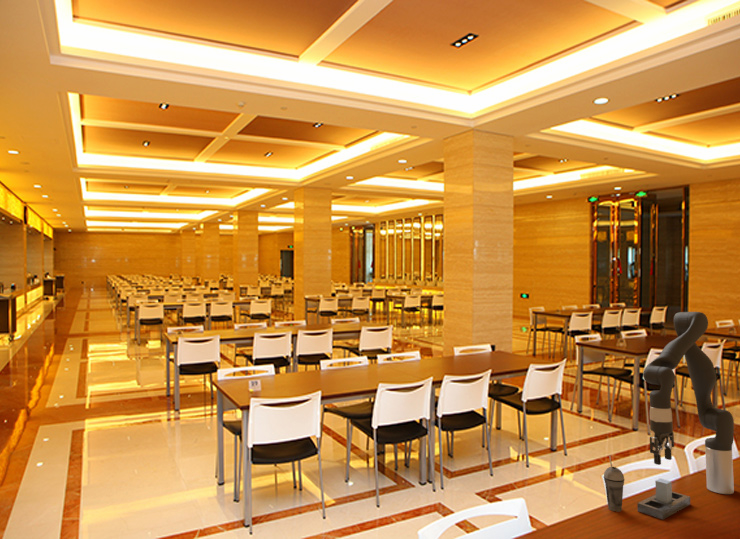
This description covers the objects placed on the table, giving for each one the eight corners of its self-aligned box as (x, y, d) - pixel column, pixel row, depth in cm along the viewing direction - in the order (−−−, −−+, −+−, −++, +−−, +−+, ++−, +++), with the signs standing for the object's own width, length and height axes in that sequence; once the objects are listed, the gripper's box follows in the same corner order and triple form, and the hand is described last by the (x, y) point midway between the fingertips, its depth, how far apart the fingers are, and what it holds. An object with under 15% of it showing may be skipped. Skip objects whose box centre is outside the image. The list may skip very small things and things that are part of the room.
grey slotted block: (665, 497, 203) (665, 489, 203) (690, 504, 195) (690, 496, 195) (637, 511, 190) (637, 503, 190) (662, 519, 183) (662, 511, 183)
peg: (661, 504, 196) (660, 478, 196) (672, 508, 192) (671, 481, 193) (656, 507, 193) (655, 480, 194) (667, 510, 190) (666, 483, 190)
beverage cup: (628, 514, 188) (626, 459, 189) (607, 512, 189) (605, 458, 190) (622, 505, 195) (620, 453, 196) (602, 504, 196) (600, 452, 197)
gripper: (659, 414, 201) (661, 455, 201) (641, 420, 193) (643, 463, 192) (680, 417, 195) (682, 460, 194) (662, 424, 187) (664, 468, 186)
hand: (663, 461), depth 193 cm, fingers open, 8 cm apart
